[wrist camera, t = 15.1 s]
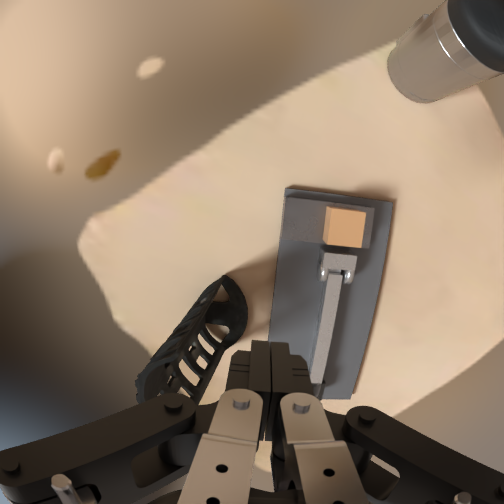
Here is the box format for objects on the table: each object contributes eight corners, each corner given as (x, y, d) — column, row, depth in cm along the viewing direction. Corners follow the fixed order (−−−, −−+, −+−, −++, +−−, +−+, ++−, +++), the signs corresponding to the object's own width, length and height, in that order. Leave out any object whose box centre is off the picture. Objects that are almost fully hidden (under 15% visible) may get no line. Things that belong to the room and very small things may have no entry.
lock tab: (326, 206, 37) (331, 208, 34) (358, 210, 37) (366, 212, 34) (322, 239, 38) (327, 244, 35) (354, 242, 38) (361, 248, 35)
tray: (285, 188, 39) (285, 188, 38) (390, 202, 39) (392, 202, 38) (260, 391, 46) (260, 395, 45) (348, 395, 45) (350, 399, 44)
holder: (252, 348, 44) (221, 451, 24) (201, 348, 45) (145, 441, 26) (244, 273, 42) (198, 347, 22) (188, 276, 43) (111, 343, 23)
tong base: (284, 196, 38) (286, 197, 35) (370, 207, 38) (379, 209, 35) (262, 385, 44) (261, 399, 41) (334, 389, 44) (338, 402, 41)
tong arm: (322, 271, 39) (323, 273, 38) (345, 273, 39) (347, 275, 38) (299, 398, 42) (300, 402, 41) (319, 399, 42) (320, 403, 41)
